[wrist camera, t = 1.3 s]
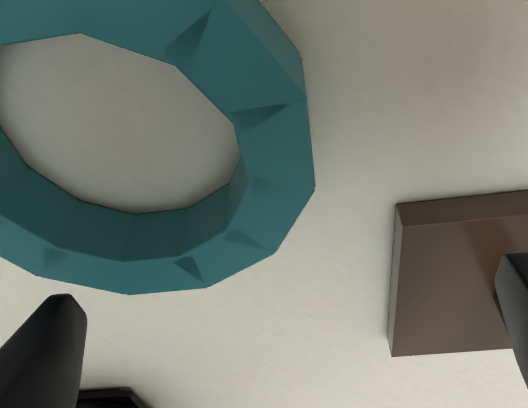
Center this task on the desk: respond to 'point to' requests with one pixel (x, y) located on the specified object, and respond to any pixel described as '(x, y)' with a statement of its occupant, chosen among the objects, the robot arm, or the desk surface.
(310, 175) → the ring
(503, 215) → the stand
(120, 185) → the desk surface
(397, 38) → the desk surface
